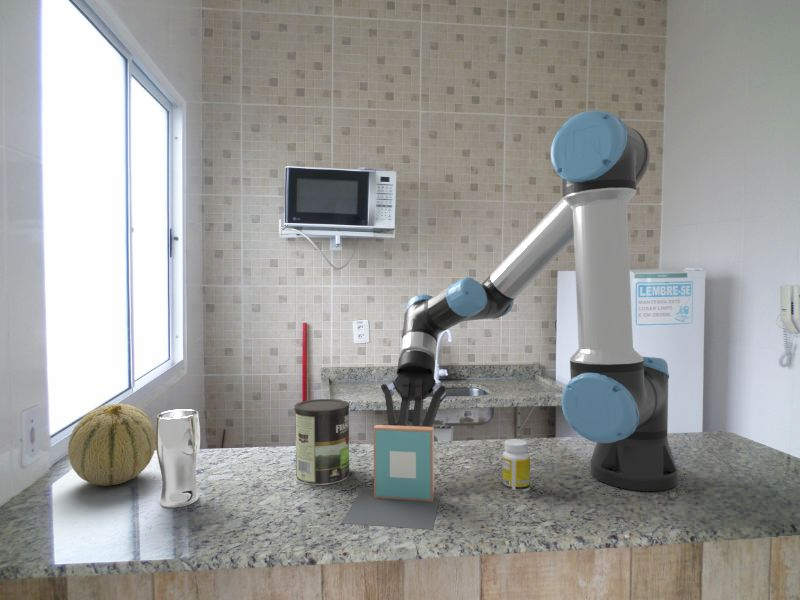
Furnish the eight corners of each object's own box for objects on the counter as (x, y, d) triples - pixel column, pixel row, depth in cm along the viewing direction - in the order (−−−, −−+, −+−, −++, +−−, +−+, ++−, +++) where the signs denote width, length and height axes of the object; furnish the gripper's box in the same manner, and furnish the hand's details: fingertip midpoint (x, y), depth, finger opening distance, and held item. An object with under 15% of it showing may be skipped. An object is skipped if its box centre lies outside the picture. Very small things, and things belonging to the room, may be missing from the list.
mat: (441, 496, 94) (441, 492, 94) (432, 533, 80) (432, 529, 80) (362, 491, 96) (362, 488, 96) (340, 527, 82) (340, 523, 82)
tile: (434, 497, 92) (433, 426, 91) (432, 502, 90) (432, 430, 89) (376, 493, 93) (375, 424, 93) (373, 498, 91) (373, 428, 91)
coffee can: (356, 470, 107) (355, 399, 106) (340, 490, 97) (339, 411, 96) (307, 466, 109) (306, 397, 108) (286, 486, 99) (285, 409, 98)
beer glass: (209, 495, 94) (208, 410, 94) (181, 511, 88) (179, 420, 87) (177, 490, 97) (175, 407, 96) (147, 506, 90) (145, 417, 90)
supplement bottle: (532, 485, 98) (532, 439, 98) (526, 495, 94) (526, 447, 93) (506, 481, 100) (506, 436, 100) (499, 490, 96) (499, 444, 95)
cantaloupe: (123, 464, 111) (121, 392, 110) (174, 475, 104) (172, 398, 104) (49, 489, 98) (47, 407, 97) (103, 504, 91) (100, 416, 91)
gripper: (450, 371, 112) (443, 480, 96) (388, 369, 114) (371, 476, 98) (447, 348, 106) (439, 460, 91) (383, 348, 109) (364, 456, 93)
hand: (404, 468), depth 94 cm, fingers closed
